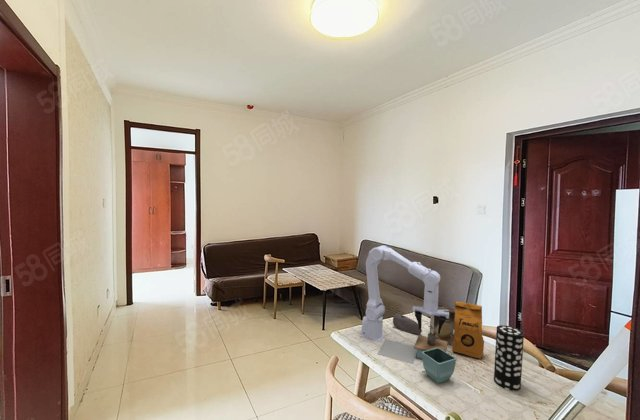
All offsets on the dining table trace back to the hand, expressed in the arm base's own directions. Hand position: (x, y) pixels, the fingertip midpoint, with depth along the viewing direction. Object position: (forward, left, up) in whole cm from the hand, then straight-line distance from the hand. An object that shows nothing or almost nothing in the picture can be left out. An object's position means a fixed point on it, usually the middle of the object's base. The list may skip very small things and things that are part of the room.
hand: (429, 330), depth 126 cm
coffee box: (+4, +14, -11) cm, 18 cm away
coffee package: (+15, +10, -11) cm, 21 cm away
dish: (+1, -1, -10) cm, 10 cm away
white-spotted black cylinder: (+28, -7, -11) cm, 31 cm away
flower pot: (+5, -16, -11) cm, 20 cm away
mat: (-12, -4, -10) cm, 16 cm away
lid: (+1, -1, -6) cm, 6 cm away
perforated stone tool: (-12, +18, -11) cm, 24 cm away
